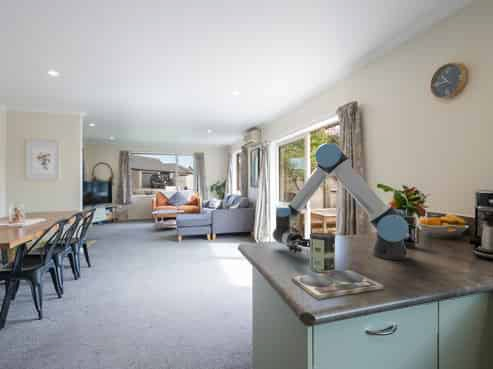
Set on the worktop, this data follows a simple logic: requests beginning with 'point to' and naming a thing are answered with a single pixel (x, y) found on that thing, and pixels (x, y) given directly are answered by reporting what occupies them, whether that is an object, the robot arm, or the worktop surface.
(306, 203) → the robot arm
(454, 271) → the worktop surface
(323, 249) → the coffee can
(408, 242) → the french press
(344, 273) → the board
